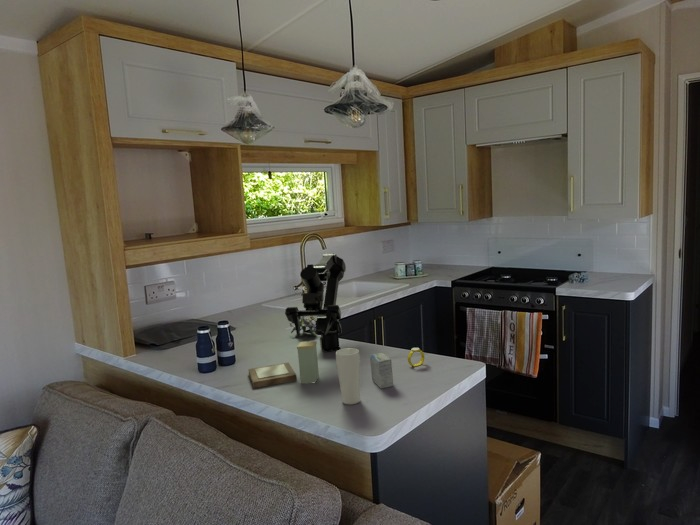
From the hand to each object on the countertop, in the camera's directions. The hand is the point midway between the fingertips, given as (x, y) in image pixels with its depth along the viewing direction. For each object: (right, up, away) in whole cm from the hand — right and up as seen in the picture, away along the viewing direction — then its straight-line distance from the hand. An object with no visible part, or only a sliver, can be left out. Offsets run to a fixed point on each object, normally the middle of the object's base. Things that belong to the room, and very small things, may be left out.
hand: (311, 335), depth 178 cm
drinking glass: (+13, -16, -25) cm, 33 cm away
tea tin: (0, -14, -5) cm, 15 cm away
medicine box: (+23, -13, -13) cm, 30 cm away
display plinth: (-13, -14, 0) cm, 19 cm away
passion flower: (-6, -7, +48) cm, 50 cm away
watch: (+35, -11, +1) cm, 37 cm away
